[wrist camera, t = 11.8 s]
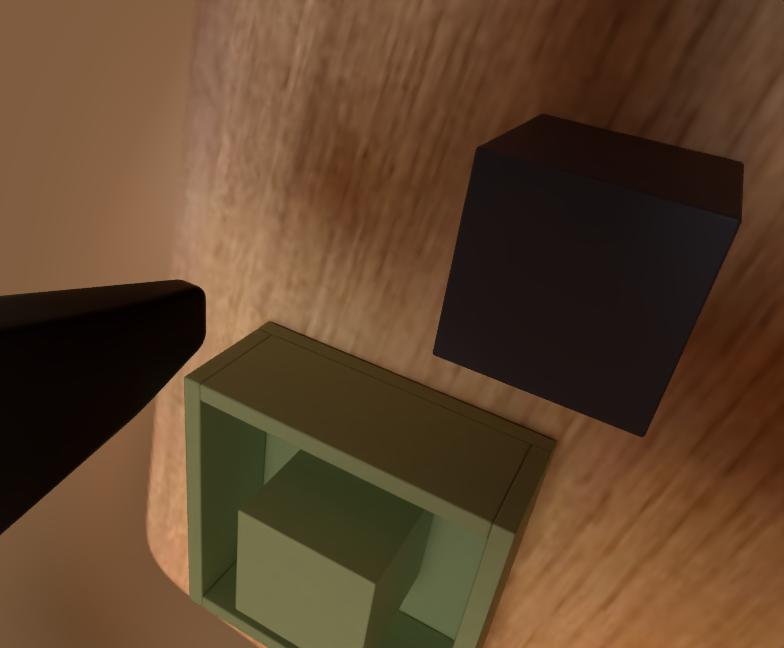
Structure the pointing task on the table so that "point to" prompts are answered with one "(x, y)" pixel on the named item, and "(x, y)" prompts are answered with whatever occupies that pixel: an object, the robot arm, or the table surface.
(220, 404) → the sage bin
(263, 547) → the sage block
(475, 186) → the navy block
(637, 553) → the table surface
